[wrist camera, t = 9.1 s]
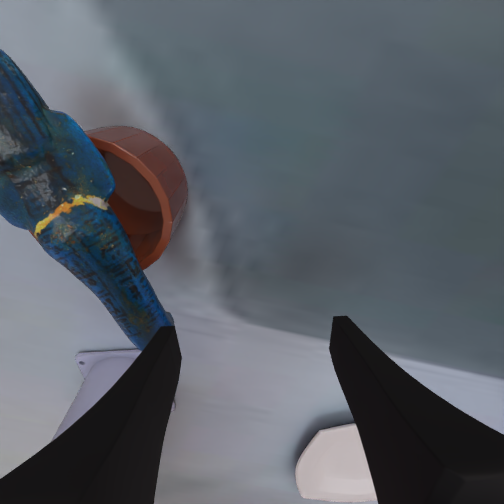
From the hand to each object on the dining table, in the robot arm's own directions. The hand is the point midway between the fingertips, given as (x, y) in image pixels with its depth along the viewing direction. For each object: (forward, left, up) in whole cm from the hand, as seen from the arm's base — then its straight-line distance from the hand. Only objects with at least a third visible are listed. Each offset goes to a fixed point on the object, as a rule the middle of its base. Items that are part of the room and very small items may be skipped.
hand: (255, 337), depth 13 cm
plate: (-32, -14, -9) cm, 36 cm away
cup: (+4, +8, -10) cm, 14 cm away
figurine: (+4, +8, -5) cm, 10 cm away
